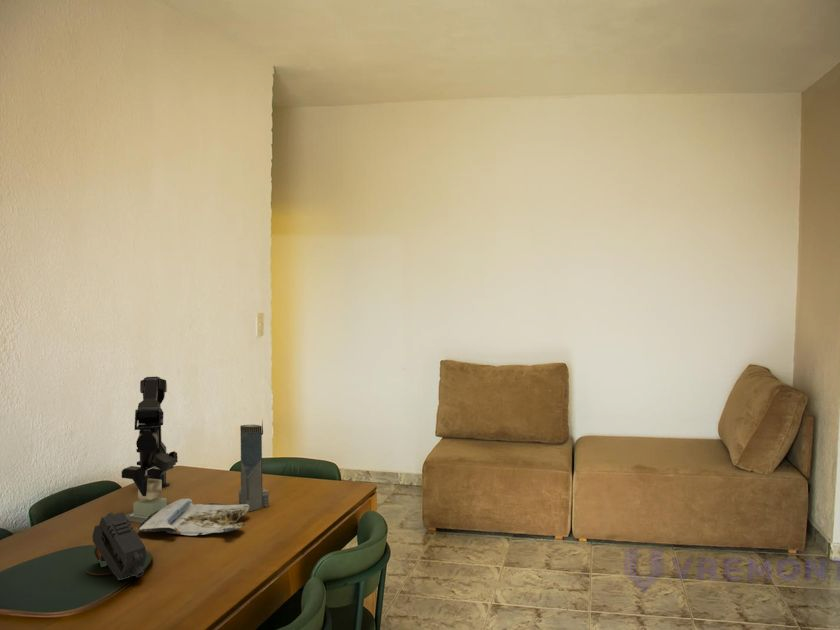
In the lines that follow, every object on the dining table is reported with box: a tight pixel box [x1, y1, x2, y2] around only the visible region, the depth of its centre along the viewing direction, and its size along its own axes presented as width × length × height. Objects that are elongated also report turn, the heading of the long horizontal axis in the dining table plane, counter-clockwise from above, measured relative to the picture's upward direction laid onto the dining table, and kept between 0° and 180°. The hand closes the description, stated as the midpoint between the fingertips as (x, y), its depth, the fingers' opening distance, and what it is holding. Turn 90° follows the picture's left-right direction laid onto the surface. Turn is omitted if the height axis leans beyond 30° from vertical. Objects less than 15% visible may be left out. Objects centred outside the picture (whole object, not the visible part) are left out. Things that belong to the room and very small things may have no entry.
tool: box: [91, 511, 148, 579], centre depth 176 cm, size 6×19×15 cm, turn 51°
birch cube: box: [137, 478, 163, 500], centre depth 220 cm, size 5×5×5 cm
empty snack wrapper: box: [136, 498, 250, 536], centre depth 209 cm, size 24×30×5 cm
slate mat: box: [125, 511, 148, 524], centre depth 220 cm, size 16×12×1 cm
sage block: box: [132, 496, 168, 517], centre depth 220 cm, size 7×7×4 cm
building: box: [238, 420, 270, 513], centre depth 226 cm, size 10×9×30 cm
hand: (150, 493), depth 220 cm, fingers closed on birch cube, 5 cm apart
